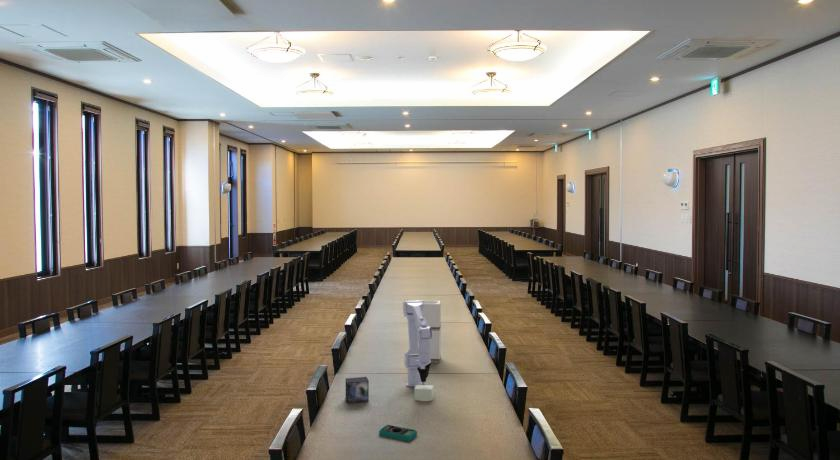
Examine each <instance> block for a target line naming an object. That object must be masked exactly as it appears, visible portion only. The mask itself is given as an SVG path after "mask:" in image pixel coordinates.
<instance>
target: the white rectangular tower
mask: <svg viewBox="0 0 840 460" xmlns="http://www.w3.org/2000/svg"><path fill="white" fill-rule="evenodd" d="M422 301H423V311H422V317H424V318H425V319H426V322H427V324H428V326H429V327H431V330H432V338H431V339H430V360H431V362H432V363H436V364H437V363H440V362H441V358H442V357H441V356H442V355H441V347H442V346H441V343H442V342H441V337H442V336H441V333H442V332H441V327H442V326H441V325H442V322H441V321H442V320H441V319H442V318H441V317H442V313H441V310H442V309H441V307H442V304H441V300H422Z"/></svg>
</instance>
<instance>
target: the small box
mask: <svg viewBox="0 0 840 460" xmlns="http://www.w3.org/2000/svg"><path fill="white" fill-rule="evenodd" d="M369 384H370V383H369V379H368V377H367V376H360V377H349V378H347V377H346V378H345V398H344V399H345V401H346V404H354V403H353V402H357V403H365V401H366V402H367V401H368V402H369V401H370V400H369V398H370V397H369V396H370V395H369V394H370V393H369V392H370V391H369V389H370V387H369V386H370V385H369ZM368 402H367V403H368Z"/></svg>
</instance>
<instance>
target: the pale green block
mask: <svg viewBox="0 0 840 460" xmlns="http://www.w3.org/2000/svg"><path fill="white" fill-rule="evenodd" d="M413 393H414V401H419V400H430V401H433V399H434V385H429V384H428V385H426V384H424V385H423V384H422V385H416V386H414V392H413ZM430 401H429V402H430Z"/></svg>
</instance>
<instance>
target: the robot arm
mask: <svg viewBox="0 0 840 460" xmlns="http://www.w3.org/2000/svg"><path fill="white" fill-rule="evenodd" d="M423 301H424V300H422V299H416V300H415V299H414V300H404V301H403V305H402V310H403V312H402V313H403V317H406V318H407V326H408V327H407V329H408V330H407V331H408V344H409V345H408V347H409V349H407V350H406V351H405V352H404V362H403V363H404V366H405V368H406V369H407V382H406V384H405V386H406V387H415V386H416V385H423V383H426V382H427V378H428V377H429V373H430V372H429V371H430V368H431V365H432V364H433V362H431V360H430V339H431V338H432V330H431V327H429V326H428V324H427V322H426V319H425V318H424V317H422V311H423Z"/></svg>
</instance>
